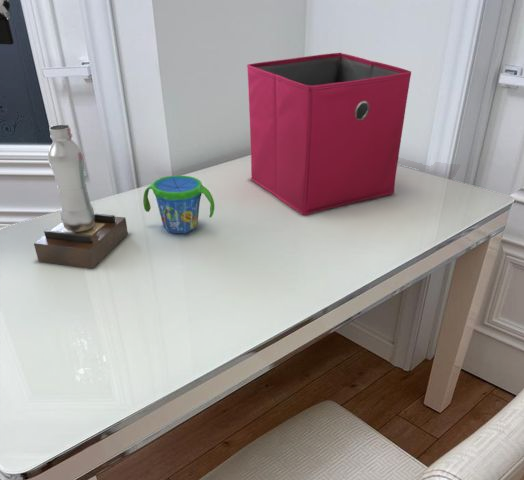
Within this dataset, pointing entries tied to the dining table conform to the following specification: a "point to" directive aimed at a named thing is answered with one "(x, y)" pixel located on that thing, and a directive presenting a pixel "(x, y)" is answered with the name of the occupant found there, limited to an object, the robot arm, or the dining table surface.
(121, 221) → the brown wooden base
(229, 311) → the dining table surface
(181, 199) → the snack cup
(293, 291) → the dining table surface
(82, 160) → the silver metal bottle
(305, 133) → the storage bin
